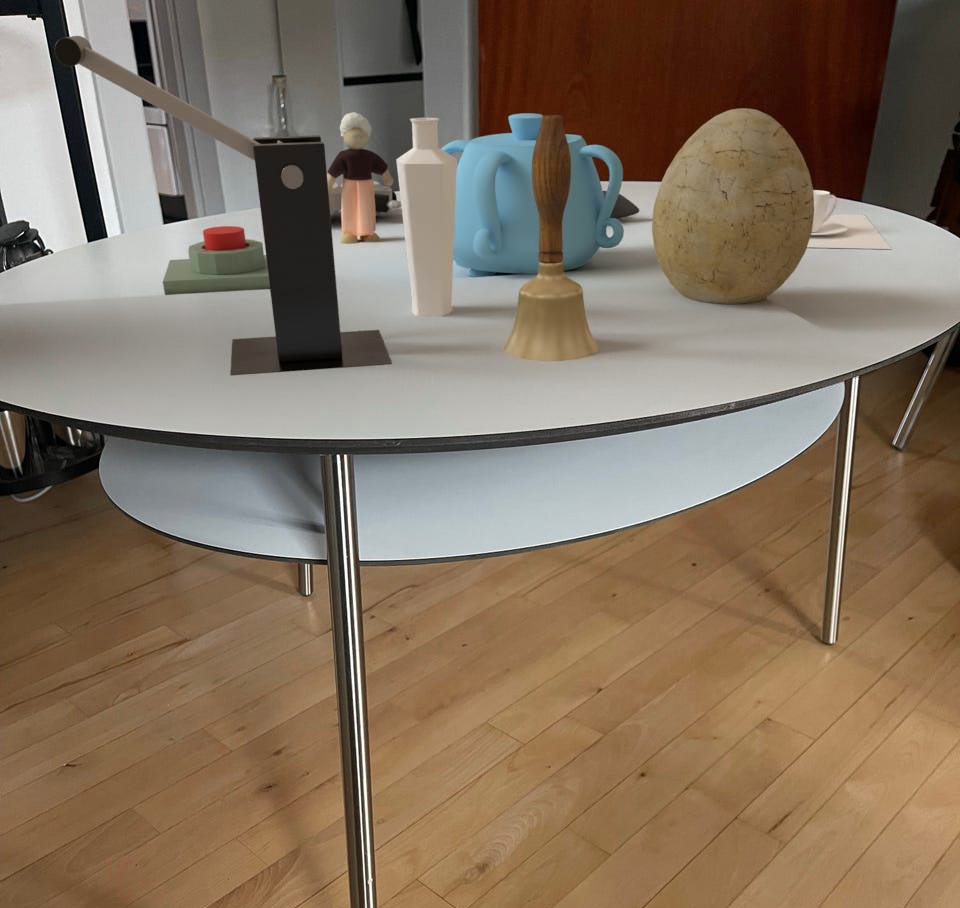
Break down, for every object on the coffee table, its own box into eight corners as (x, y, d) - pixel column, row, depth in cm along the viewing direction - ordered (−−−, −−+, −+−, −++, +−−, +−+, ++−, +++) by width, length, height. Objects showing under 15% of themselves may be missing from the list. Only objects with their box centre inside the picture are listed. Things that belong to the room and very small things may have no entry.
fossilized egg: (666, 284, 94) (680, 100, 86) (809, 295, 89) (838, 102, 81) (629, 319, 84) (641, 114, 76) (788, 333, 79) (819, 117, 72)
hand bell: (483, 378, 71) (480, 122, 63) (502, 344, 78) (502, 109, 69) (603, 383, 70) (616, 122, 61) (611, 349, 77) (625, 109, 68)
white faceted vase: (417, 316, 85) (407, 115, 77) (465, 321, 84) (461, 116, 76) (393, 331, 82) (380, 121, 74) (443, 335, 80) (436, 122, 72)
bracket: (232, 392, 69) (197, 151, 61) (234, 354, 77) (203, 135, 69) (394, 381, 71) (380, 145, 63) (380, 345, 78) (366, 130, 70)
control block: (166, 307, 89) (158, 259, 87) (173, 284, 97) (166, 239, 95) (294, 299, 91) (289, 252, 89) (291, 277, 98) (286, 233, 96)
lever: (48, 65, 59) (61, 23, 58) (61, 62, 64) (74, 22, 63) (304, 205, 66) (320, 169, 65) (301, 193, 70) (316, 159, 69)
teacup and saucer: (767, 238, 111) (772, 197, 109) (763, 224, 118) (768, 186, 115) (851, 239, 110) (858, 198, 107) (842, 226, 116) (848, 187, 114)
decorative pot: (632, 284, 94) (644, 119, 87) (462, 295, 91) (459, 125, 84) (578, 249, 108) (584, 104, 101) (428, 258, 105) (423, 109, 98)
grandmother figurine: (340, 247, 110) (329, 115, 104) (324, 241, 113) (313, 113, 106) (402, 238, 114) (396, 111, 107) (385, 233, 117) (378, 108, 110)
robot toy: (388, 214, 132) (269, 211, 128) (388, 176, 129) (268, 172, 126) (404, 231, 122) (276, 229, 118) (405, 190, 119) (275, 186, 116)
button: (204, 255, 90) (201, 234, 89) (206, 247, 93) (203, 227, 92) (246, 253, 91) (243, 232, 90) (246, 245, 94) (244, 225, 93)
